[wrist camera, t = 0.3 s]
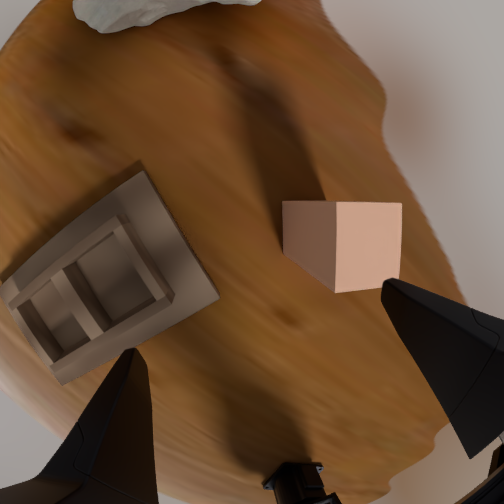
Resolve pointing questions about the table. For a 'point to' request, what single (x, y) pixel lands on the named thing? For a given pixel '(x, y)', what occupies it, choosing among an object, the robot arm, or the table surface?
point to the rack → (107, 282)
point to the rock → (134, 11)
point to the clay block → (344, 241)
